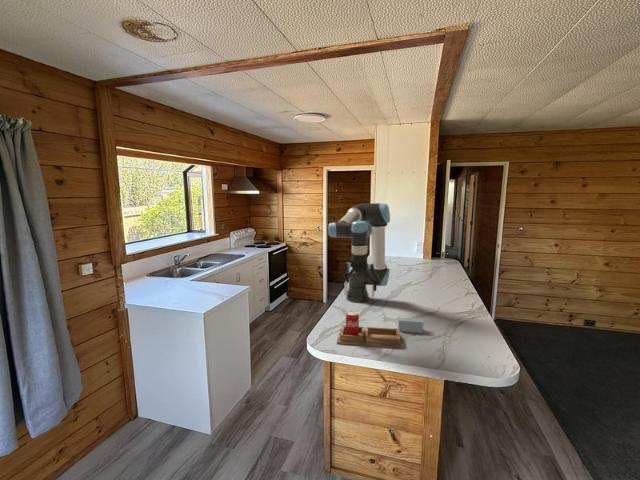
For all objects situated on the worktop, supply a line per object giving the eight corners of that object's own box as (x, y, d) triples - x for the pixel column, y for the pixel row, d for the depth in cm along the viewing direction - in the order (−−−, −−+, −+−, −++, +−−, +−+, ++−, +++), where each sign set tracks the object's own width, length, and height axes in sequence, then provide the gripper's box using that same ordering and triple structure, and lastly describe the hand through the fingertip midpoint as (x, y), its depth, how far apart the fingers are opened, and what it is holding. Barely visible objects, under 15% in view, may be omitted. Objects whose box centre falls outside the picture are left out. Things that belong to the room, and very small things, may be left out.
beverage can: (349, 339, 153) (349, 316, 151) (343, 334, 159) (343, 311, 157) (361, 337, 155) (361, 314, 153) (354, 331, 161) (354, 309, 159)
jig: (340, 330, 165) (340, 324, 164) (398, 334, 160) (399, 327, 159) (336, 343, 152) (336, 336, 151) (400, 348, 146) (401, 341, 146)
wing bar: (398, 328, 168) (398, 317, 167) (421, 329, 165) (421, 318, 164) (398, 331, 164) (398, 320, 163) (422, 333, 162) (423, 322, 161)
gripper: (332, 253, 152) (332, 295, 155) (384, 256, 143) (383, 301, 147) (337, 250, 159) (337, 290, 162) (386, 253, 150) (385, 295, 153)
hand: (359, 295), depth 154 cm, fingers open, 13 cm apart
